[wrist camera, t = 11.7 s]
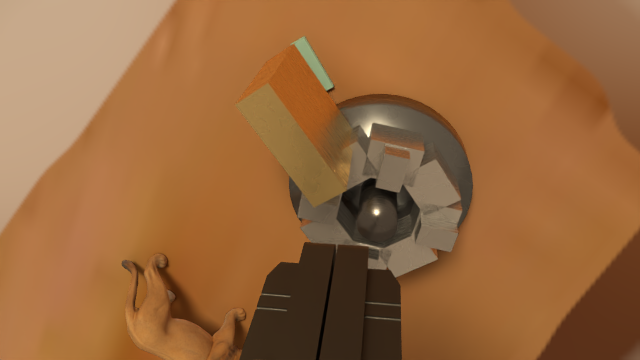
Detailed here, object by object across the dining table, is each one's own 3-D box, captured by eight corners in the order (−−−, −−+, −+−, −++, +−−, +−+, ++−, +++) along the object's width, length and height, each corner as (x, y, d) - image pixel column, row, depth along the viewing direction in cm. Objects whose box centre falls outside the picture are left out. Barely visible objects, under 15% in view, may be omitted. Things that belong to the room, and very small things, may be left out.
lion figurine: (292, 323, 44) (270, 416, 36) (262, 357, 46) (236, 451, 38) (136, 237, 41) (76, 317, 33) (114, 278, 44) (53, 361, 36)
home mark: (333, 85, 33) (333, 86, 33) (320, 92, 33) (320, 94, 33) (304, 35, 32) (303, 36, 31) (291, 43, 32) (290, 44, 32)
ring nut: (480, 216, 34) (499, 288, 28) (356, 271, 37) (348, 346, 31) (349, 6, 28) (336, 37, 22) (218, 94, 32) (177, 142, 26)
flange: (480, 232, 37) (494, 289, 32) (320, 257, 40) (309, 312, 35) (453, 75, 32) (465, 111, 26) (271, 116, 34) (250, 156, 29)
